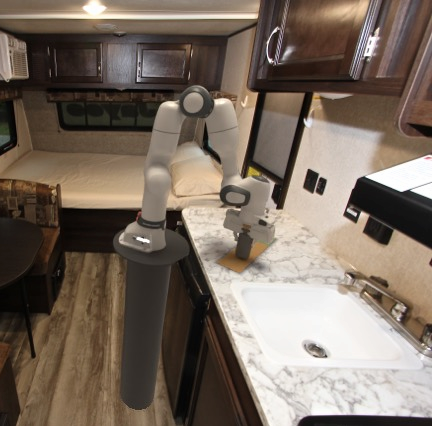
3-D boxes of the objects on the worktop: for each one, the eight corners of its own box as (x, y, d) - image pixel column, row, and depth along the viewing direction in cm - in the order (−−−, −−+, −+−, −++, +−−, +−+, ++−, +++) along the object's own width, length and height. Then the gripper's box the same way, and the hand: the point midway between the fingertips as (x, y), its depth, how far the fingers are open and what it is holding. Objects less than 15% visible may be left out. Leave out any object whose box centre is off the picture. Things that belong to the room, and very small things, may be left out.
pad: (268, 246, 137) (268, 246, 137) (247, 238, 143) (247, 238, 143) (276, 239, 143) (276, 238, 143) (255, 231, 149) (255, 231, 149)
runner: (239, 273, 117) (239, 273, 117) (216, 262, 123) (216, 262, 123) (268, 246, 137) (268, 246, 137) (247, 238, 143) (247, 238, 143)
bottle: (232, 254, 127) (238, 223, 121) (239, 250, 131) (245, 219, 125) (245, 260, 123) (252, 228, 117) (251, 255, 127) (258, 224, 121)
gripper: (223, 209, 124) (217, 237, 130) (274, 225, 111) (265, 256, 116) (230, 205, 128) (224, 232, 134) (280, 220, 115) (271, 250, 121)
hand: (244, 243), depth 125 cm, fingers closed on bottle, 5 cm apart
